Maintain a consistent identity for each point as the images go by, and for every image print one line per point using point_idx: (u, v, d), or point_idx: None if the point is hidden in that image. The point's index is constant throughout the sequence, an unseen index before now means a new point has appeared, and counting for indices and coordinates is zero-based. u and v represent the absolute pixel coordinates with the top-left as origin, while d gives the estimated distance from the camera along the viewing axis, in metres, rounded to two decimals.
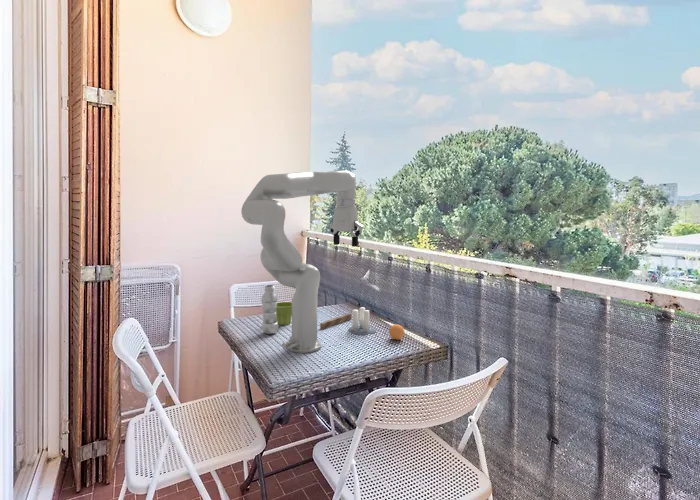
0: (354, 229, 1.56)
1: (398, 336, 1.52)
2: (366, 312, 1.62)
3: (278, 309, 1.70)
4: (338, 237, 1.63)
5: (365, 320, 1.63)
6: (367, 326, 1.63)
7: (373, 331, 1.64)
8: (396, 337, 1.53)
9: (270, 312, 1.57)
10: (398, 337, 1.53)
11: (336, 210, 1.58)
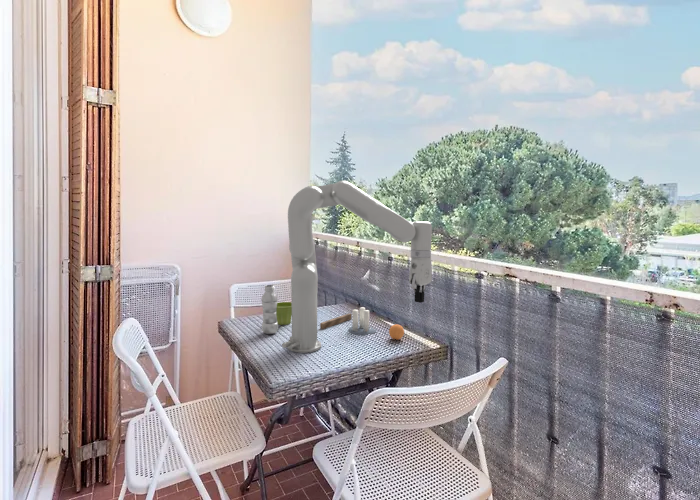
0: None
1: (398, 336, 1.52)
2: (366, 312, 1.62)
3: (278, 309, 1.70)
4: None
5: (365, 320, 1.63)
6: (367, 326, 1.63)
7: (373, 331, 1.64)
8: (396, 337, 1.53)
9: (270, 312, 1.57)
10: (398, 337, 1.53)
11: (423, 263, 1.42)
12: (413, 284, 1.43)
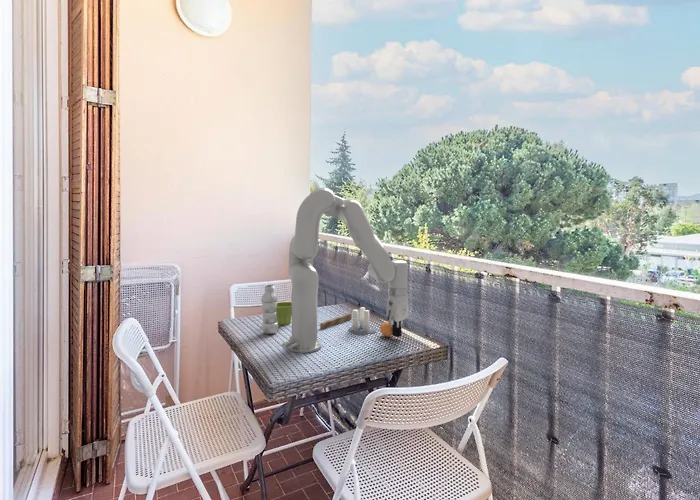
0: None
1: (387, 326, 1.56)
2: (366, 312, 1.62)
3: (278, 309, 1.70)
4: None
5: (365, 320, 1.63)
6: (367, 326, 1.63)
7: (373, 331, 1.64)
8: (387, 328, 1.56)
9: (270, 312, 1.57)
10: (388, 326, 1.56)
11: (399, 300, 1.50)
12: (390, 320, 1.51)
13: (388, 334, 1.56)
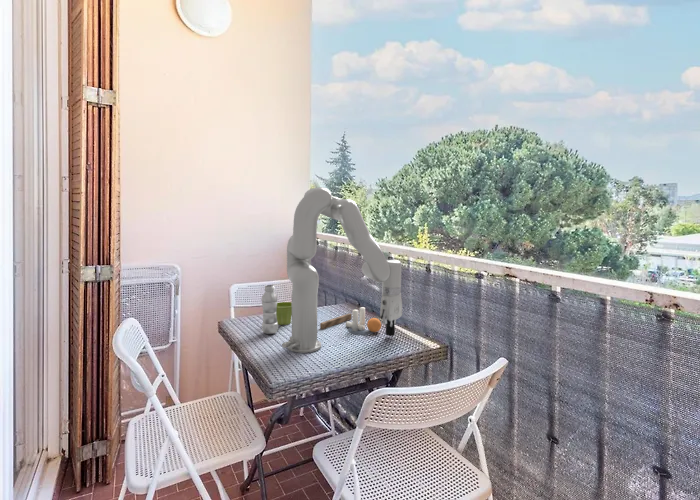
0: None
1: (367, 325, 1.64)
2: (346, 323, 1.70)
3: (278, 309, 1.70)
4: None
5: None
6: None
7: None
8: (367, 323, 1.63)
9: (270, 312, 1.57)
10: (367, 324, 1.64)
11: (392, 299, 1.51)
12: (383, 319, 1.52)
13: (371, 319, 1.63)
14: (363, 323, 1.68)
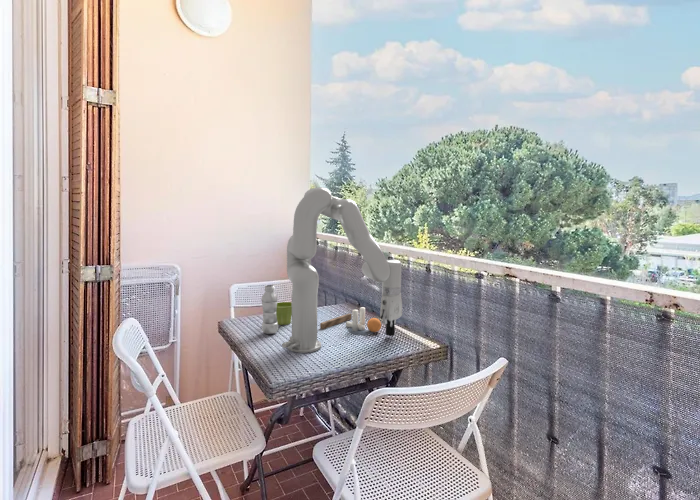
0: None
1: (367, 325, 1.64)
2: (347, 322, 1.70)
3: (278, 309, 1.70)
4: None
5: None
6: (358, 324, 1.66)
7: None
8: (367, 323, 1.63)
9: (270, 312, 1.57)
10: (367, 324, 1.64)
11: (392, 299, 1.51)
12: (383, 319, 1.52)
13: (371, 319, 1.63)
14: (363, 323, 1.68)
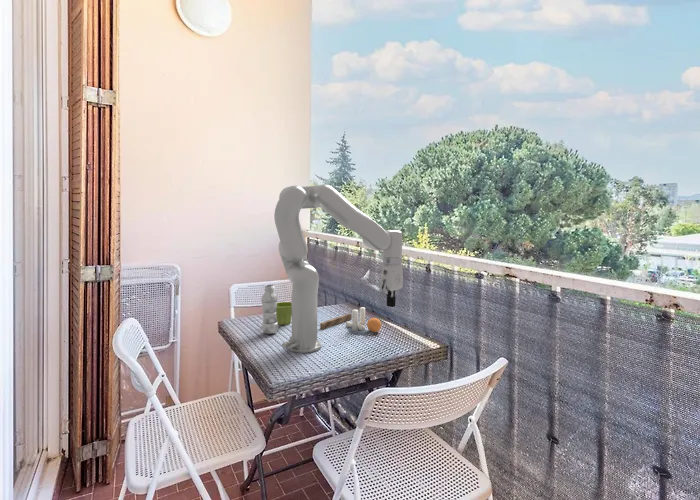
0: None
1: (367, 325, 1.64)
2: (347, 322, 1.70)
3: (278, 309, 1.70)
4: None
5: None
6: (358, 324, 1.66)
7: None
8: (367, 323, 1.63)
9: (270, 312, 1.57)
10: (367, 324, 1.64)
11: (393, 269, 1.50)
12: (384, 289, 1.51)
13: (371, 319, 1.63)
14: (363, 323, 1.68)
